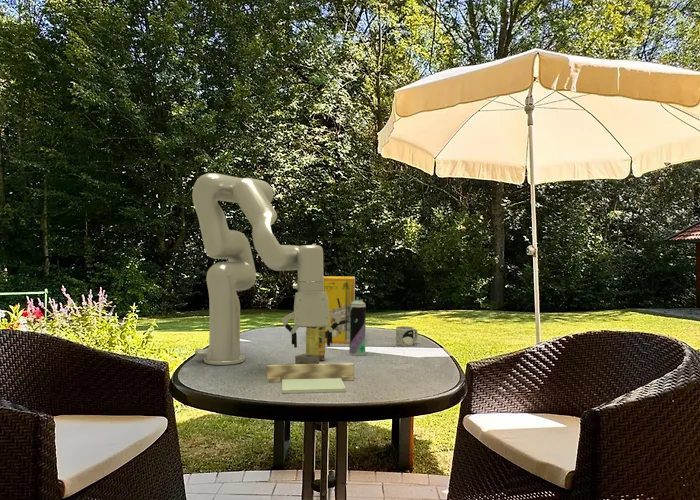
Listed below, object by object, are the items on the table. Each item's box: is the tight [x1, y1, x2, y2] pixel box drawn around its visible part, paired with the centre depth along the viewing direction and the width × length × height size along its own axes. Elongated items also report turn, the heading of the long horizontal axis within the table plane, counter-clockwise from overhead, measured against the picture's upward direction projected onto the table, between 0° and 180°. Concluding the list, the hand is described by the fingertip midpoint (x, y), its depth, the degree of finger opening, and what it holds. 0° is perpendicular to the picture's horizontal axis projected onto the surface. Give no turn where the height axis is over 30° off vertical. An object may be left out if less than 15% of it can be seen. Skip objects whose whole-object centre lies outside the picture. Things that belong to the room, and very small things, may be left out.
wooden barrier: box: [266, 362, 355, 383], centre depth 148 cm, size 24×5×4 cm, turn 98°
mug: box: [395, 326, 419, 348], centre depth 204 cm, size 10×7×7 cm
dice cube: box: [294, 352, 320, 364], centre depth 156 cm, size 5×5×5 cm
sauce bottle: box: [305, 326, 326, 362], centre depth 174 cm, size 7×6×20 cm
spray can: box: [348, 295, 367, 357], centre depth 184 cm, size 6×6×20 cm
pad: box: [281, 378, 347, 394], centre depth 140 cm, size 16×11×1 cm
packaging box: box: [323, 275, 356, 344], centre depth 213 cm, size 16×16×25 cm
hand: (312, 346), depth 156 cm, fingers open, 9 cm apart
